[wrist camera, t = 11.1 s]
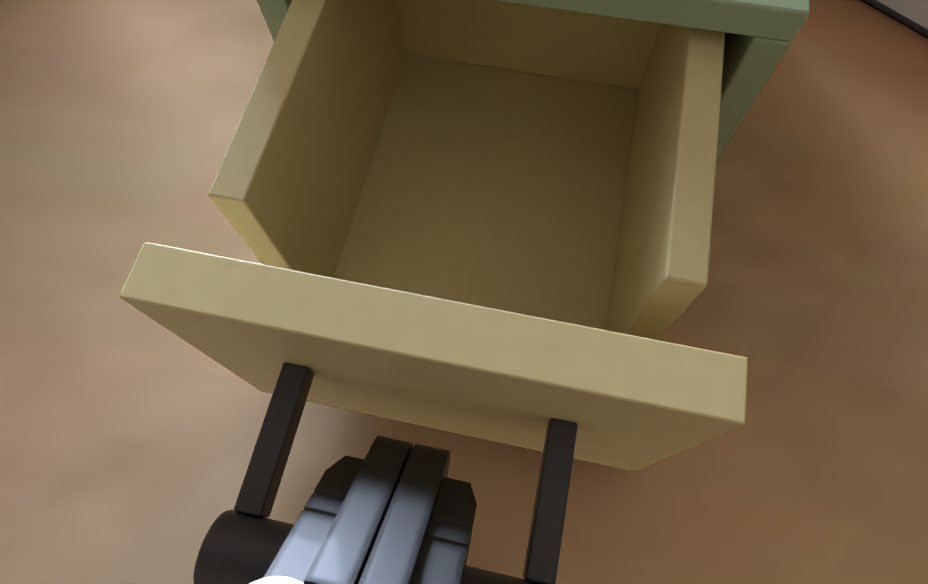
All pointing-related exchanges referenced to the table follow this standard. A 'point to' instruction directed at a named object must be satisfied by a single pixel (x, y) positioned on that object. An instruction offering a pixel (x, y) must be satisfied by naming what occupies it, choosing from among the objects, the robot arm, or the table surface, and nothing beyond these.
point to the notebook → (906, 12)
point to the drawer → (463, 245)
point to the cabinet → (695, 6)
